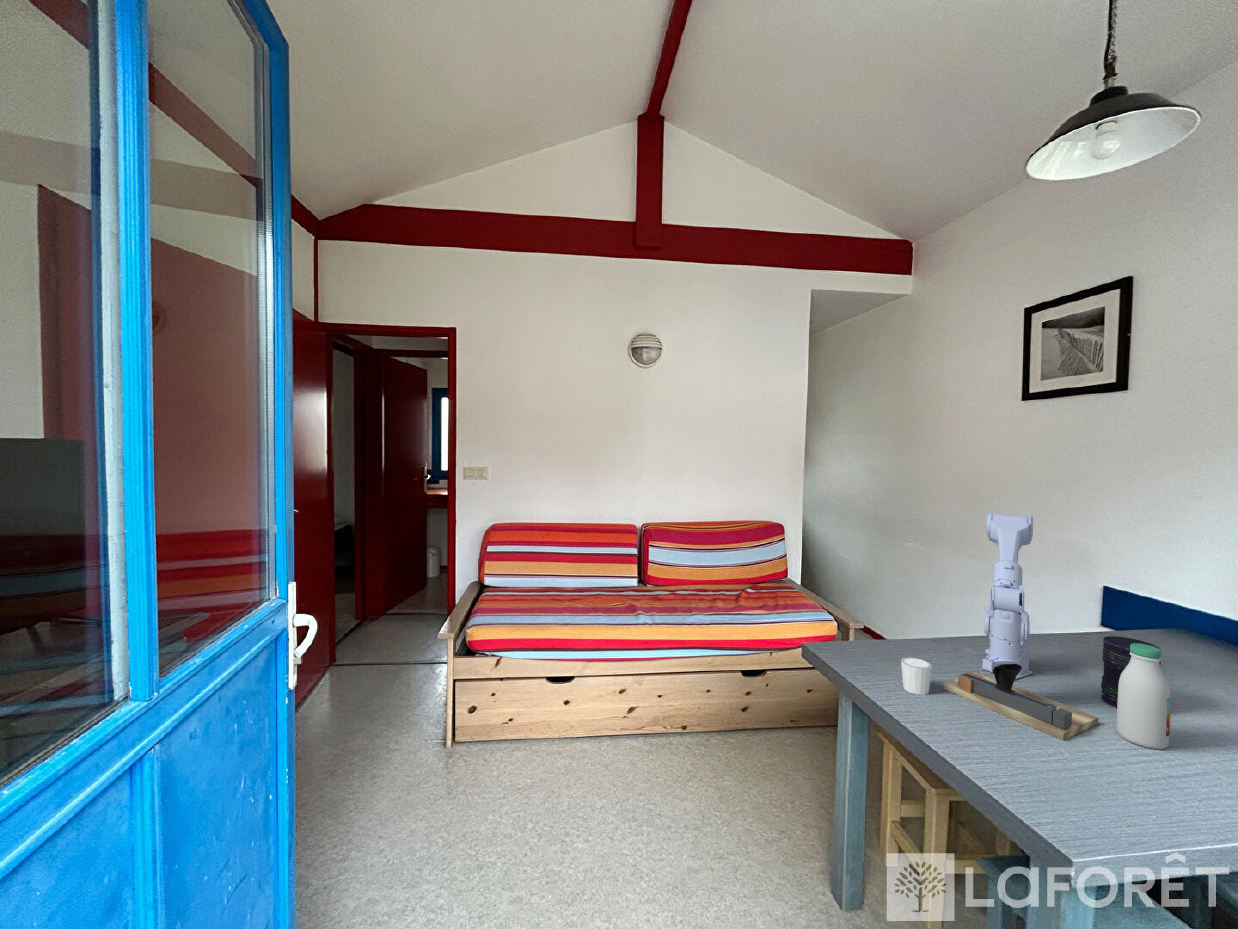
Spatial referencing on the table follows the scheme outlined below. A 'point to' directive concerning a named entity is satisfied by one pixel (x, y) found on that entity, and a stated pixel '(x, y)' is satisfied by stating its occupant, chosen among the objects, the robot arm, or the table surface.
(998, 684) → the arm
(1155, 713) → the milk bottle
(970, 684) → the tongs fixed arm
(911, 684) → the white cup
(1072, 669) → the table surface
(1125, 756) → the table surface
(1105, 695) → the storage jar
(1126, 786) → the table surface
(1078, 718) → the board
